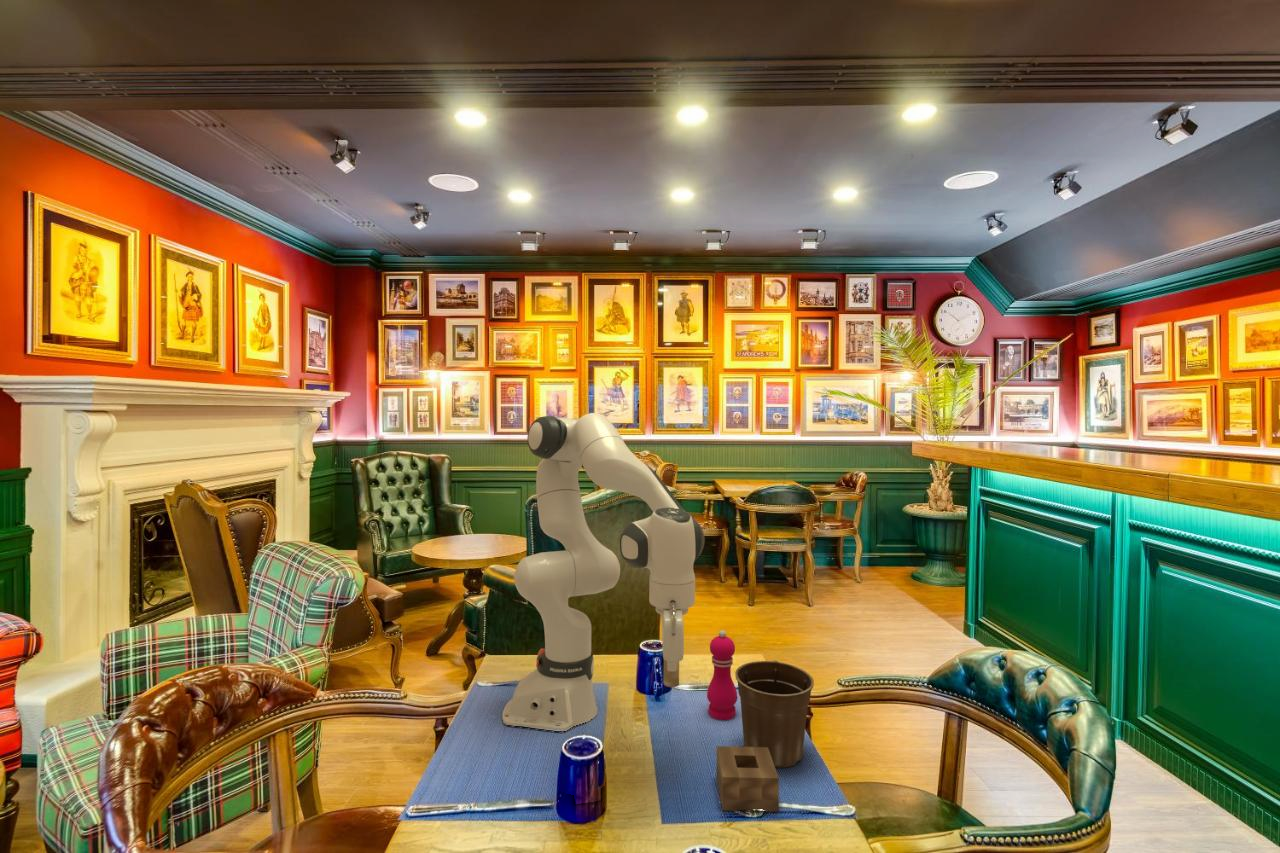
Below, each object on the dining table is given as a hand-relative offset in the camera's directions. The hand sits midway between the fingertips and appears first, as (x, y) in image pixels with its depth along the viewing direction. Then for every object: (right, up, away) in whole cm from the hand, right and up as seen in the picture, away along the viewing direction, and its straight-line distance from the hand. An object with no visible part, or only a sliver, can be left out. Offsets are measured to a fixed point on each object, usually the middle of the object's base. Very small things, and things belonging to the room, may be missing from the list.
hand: (671, 665), depth 112 cm
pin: (0, -4, 0) cm, 4 cm away
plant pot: (+22, -23, +10) cm, 34 cm away
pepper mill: (+14, -23, +27) cm, 38 cm away
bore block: (+14, -23, -3) cm, 27 cm away
